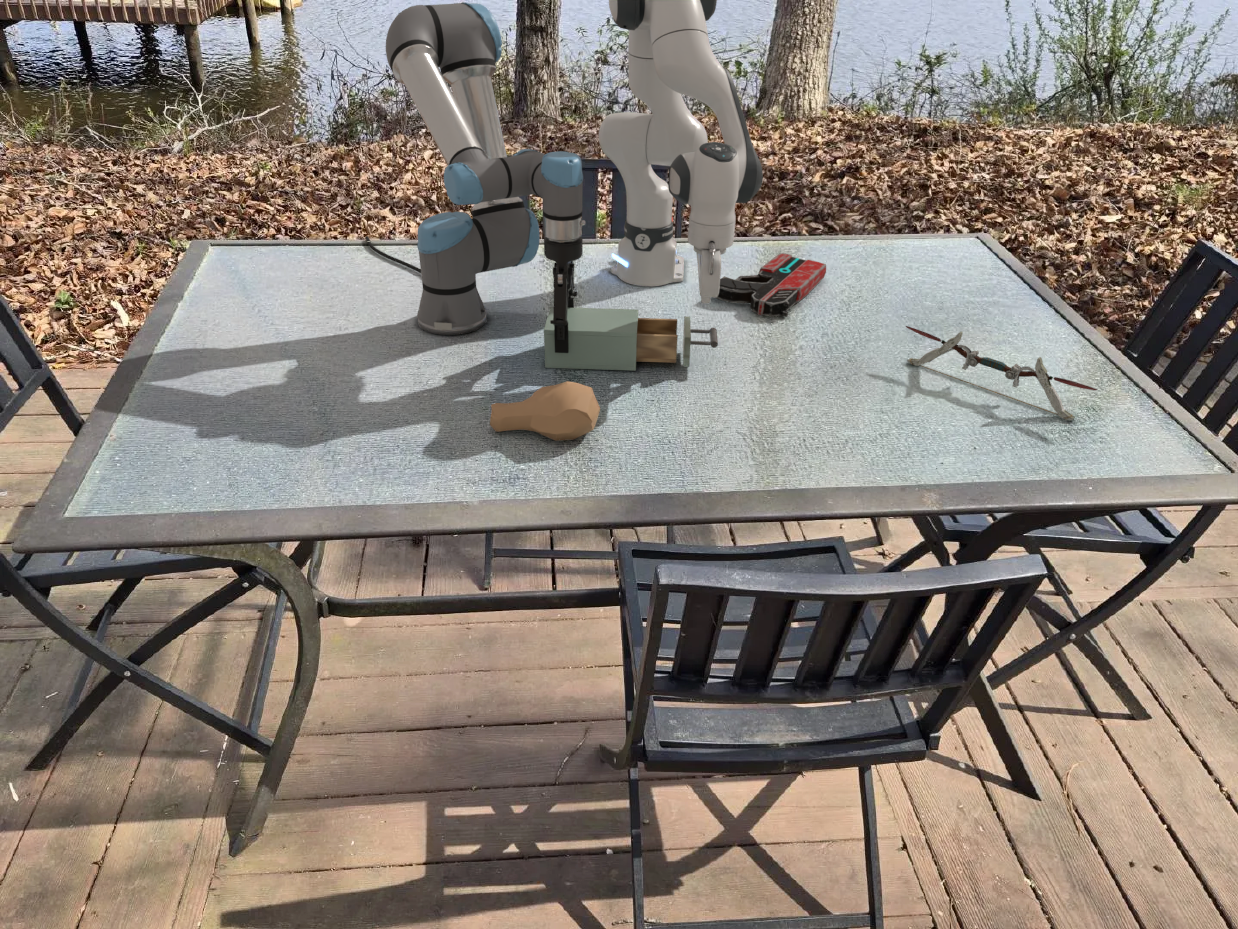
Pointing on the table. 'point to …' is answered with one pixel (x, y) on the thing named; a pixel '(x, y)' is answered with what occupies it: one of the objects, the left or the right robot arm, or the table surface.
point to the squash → (550, 412)
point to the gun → (774, 285)
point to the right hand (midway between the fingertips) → (705, 300)
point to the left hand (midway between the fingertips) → (564, 339)
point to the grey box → (595, 339)
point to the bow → (1010, 372)
